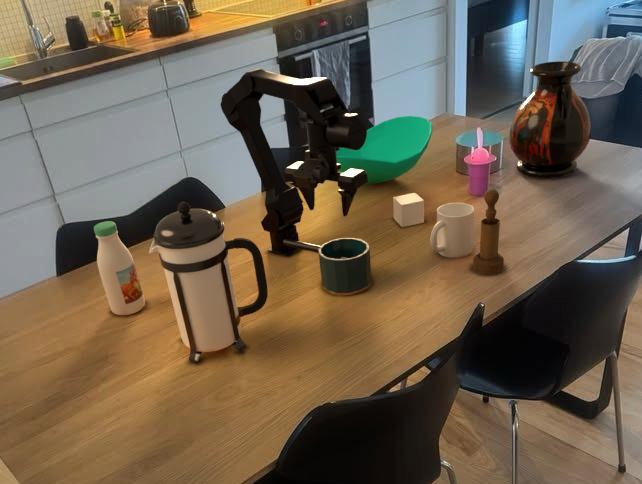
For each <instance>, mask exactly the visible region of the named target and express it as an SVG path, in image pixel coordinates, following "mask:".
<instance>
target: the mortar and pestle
mask: <svg viewBox="0 0 642 484" xmlns="http://www.w3.org/2000/svg"><path fill="white" fill-rule="evenodd" d="M483 199H484V201H485V203H486V205H487V209H485V217H486V218H482V219H481V221H480V240H479V252H478V253H477V254H476V255H474V256H473V259H472V269H473V271H475V272H476V273H478V274H482V275H483V274H484V275H496V274H499V273H501V272H502V271H503V270H504V265H505V263H504V262H505V259H504V256H502V255H501V254H500V253H499V241H500V240H499V239H500V227H501V226H500V225H501V220H500V219H499V218H497V217H496V215H497V212H498V210H497V209H496V207H495V206H496V204H497V203H498V201H499V199H500V194H499V192H498V190H496V189H495V188H490V189H487V190H486V191H485V192H484V195H483Z"/></svg>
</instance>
